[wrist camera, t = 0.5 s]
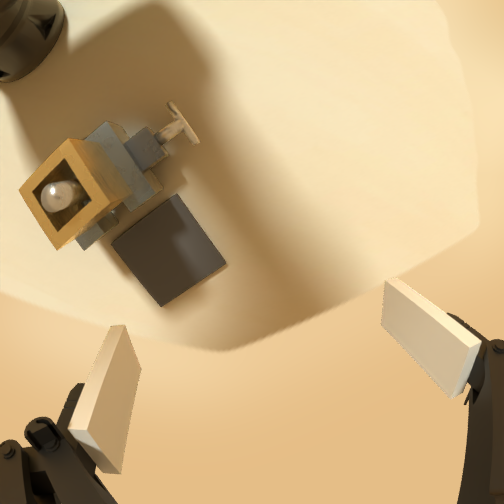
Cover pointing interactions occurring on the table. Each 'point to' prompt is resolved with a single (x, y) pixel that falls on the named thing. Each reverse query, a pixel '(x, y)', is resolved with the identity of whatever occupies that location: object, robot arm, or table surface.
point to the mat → (168, 251)
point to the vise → (121, 170)
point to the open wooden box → (92, 179)
